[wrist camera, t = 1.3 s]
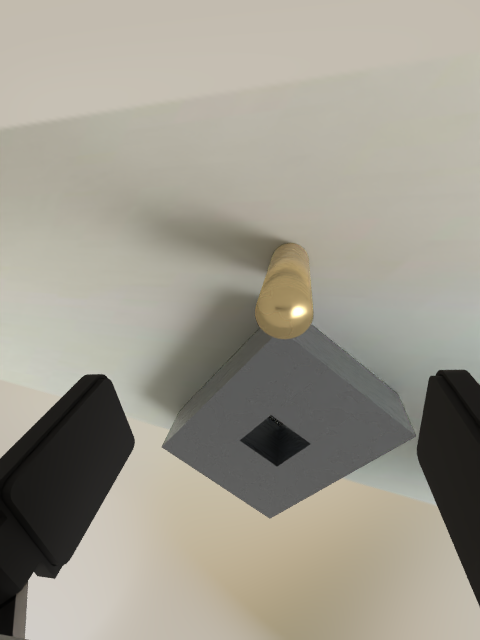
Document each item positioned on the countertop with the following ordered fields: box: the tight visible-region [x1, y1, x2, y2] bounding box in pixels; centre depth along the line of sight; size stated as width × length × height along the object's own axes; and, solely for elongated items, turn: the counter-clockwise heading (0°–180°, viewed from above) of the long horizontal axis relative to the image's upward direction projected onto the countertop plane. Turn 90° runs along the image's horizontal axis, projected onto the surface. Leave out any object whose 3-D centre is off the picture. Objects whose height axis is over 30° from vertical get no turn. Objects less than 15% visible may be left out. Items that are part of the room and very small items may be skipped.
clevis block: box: [162, 325, 416, 518], centre depth 29 cm, size 14×18×5 cm
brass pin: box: [255, 243, 313, 339], centre depth 20 cm, size 3×3×10 cm
